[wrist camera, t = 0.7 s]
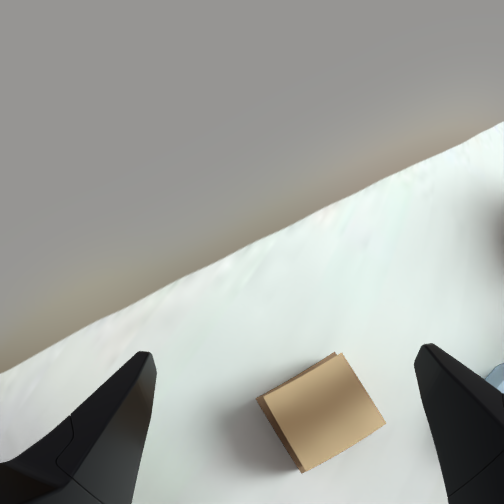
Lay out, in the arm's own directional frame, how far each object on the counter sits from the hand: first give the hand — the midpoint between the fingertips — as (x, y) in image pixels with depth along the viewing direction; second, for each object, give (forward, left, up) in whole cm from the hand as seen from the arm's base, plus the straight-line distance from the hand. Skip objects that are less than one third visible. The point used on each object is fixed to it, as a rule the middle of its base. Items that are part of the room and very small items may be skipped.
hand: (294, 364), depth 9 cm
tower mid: (-2, -1, -14) cm, 14 cm away
